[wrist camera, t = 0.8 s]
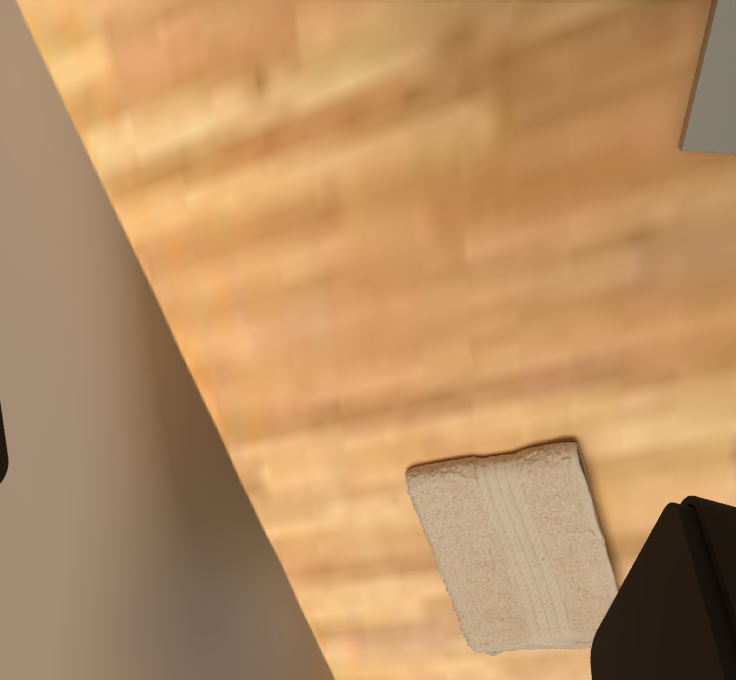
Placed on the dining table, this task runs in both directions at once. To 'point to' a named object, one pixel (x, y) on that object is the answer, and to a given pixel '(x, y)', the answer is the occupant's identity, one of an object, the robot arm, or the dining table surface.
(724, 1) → the slate tray
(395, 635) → the dining table surface
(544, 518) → the washcloth
